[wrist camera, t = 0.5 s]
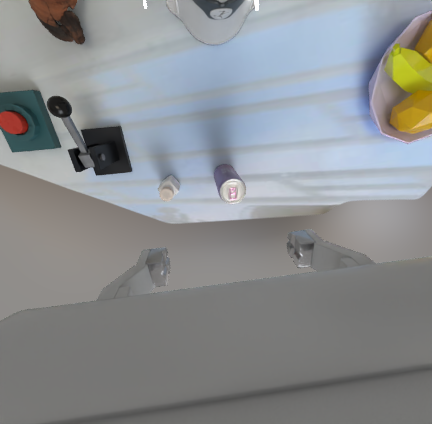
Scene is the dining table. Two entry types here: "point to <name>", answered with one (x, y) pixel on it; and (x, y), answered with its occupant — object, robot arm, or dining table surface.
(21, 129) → the button
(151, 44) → the dining table surface
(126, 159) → the lever stand
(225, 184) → the beverage can
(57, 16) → the brown clay jug
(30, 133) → the teal base plate
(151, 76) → the dining table surface
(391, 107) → the fruit bowl
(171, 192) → the pepper shaker
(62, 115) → the lever handle
